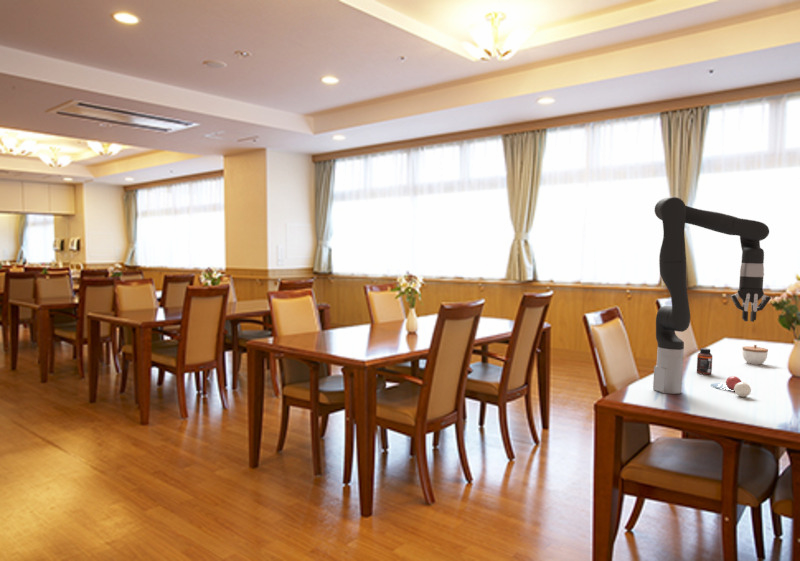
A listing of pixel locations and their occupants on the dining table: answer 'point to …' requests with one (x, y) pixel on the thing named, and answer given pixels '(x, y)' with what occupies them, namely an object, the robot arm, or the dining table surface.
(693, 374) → the dining table surface
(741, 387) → the cue ball
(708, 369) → the supplement bottle
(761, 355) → the lidded jar
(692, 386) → the dining table surface
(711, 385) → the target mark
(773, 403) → the dining table surface
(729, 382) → the red ball
